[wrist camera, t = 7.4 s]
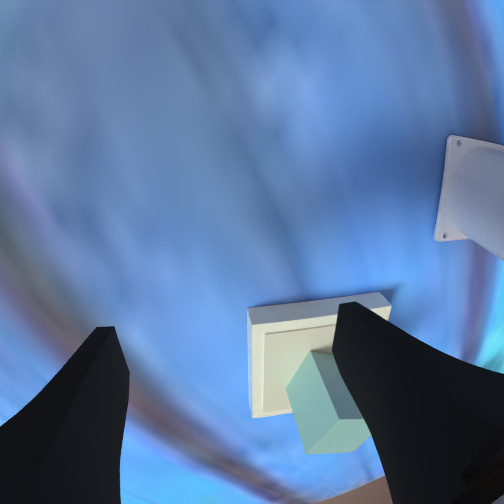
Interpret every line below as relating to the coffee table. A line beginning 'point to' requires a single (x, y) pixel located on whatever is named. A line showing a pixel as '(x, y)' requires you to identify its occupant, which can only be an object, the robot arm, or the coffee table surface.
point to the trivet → (292, 344)
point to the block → (325, 407)
